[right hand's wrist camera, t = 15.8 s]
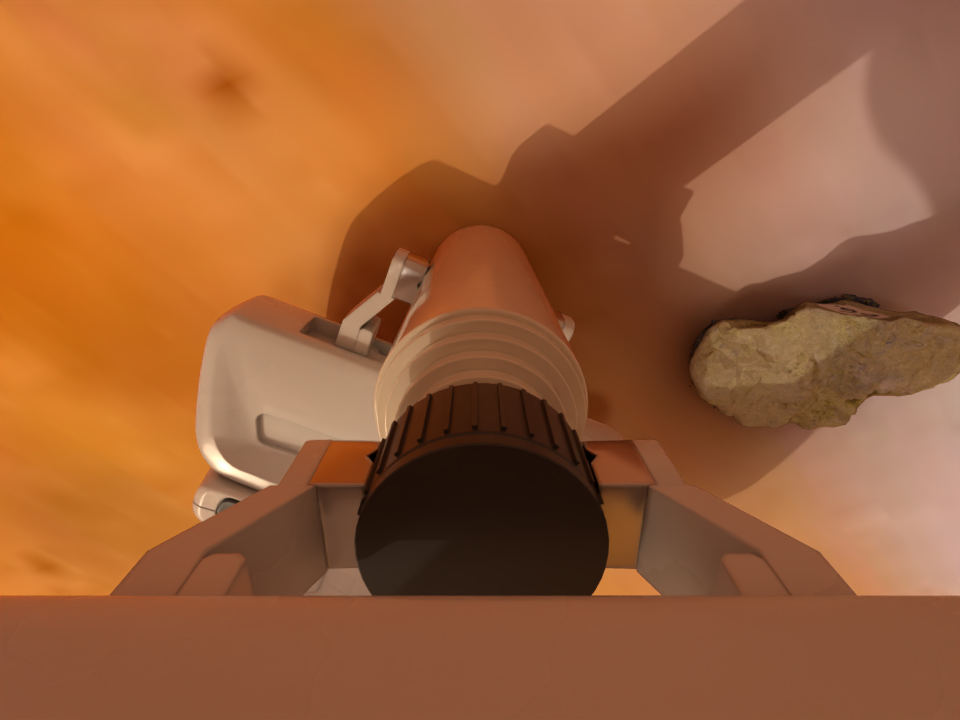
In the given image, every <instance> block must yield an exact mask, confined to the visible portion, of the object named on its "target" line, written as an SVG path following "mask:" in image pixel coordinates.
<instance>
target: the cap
mask: <svg viewBox="0 0 960 720" xmlns="http://www.w3.org/2000/svg"><path fill="white" fill-rule="evenodd" d="M590 467H591V466H590V463H589V460H588V459H586V456H585V453H584V450H583V448H582V445H581V442H580V439H579V437H578V434H577V431H576V430H575V429H574V430H572V429H571V427H570V426H569V424H568V423H567V422H566V419H565V416H564V414H563V413H562V412H561V413H560V414H559V413H558V412H557V411H556V410H555V409H554V408H552V407H551V406H550V405H549V404H548V403H547V400H545V399H544V398H543V399H542V400H541V399H539V398H538V397H536V396H534V395H532V394H530V393H527V392H526V390H525V389H523V388H522V389H521V390H520V389H516V388H513V387H510V386H505V385H502V383H498V384H490V383H478V382H473V384H464V385H458V386H453V385H450V386H449V388H447V389H443V390H440V391H437V392H435V393H433V394H431V393H429V394H427V395H426V397H425V398H423V399H422V400H420V401H419V402H417V403H415V404H414V405H413V406H411V405H409V406H408V407H407V409H406V412H404V414H403V415H402V416H401V417H400V418H399V419H398V420H397V421H395V420H394V421H393V422H392V424H391V427H390V430H389V433H388V435H387V437H386V439H384V438H382V440H381V443H380V446H379V449H378V452H377V455H376V458H375V461H374V463H373V466H372V469H371V472H370V475H369V478H368V481H367V484H366V487H365V489H364V492H363V493H364V494H366V497H365V501H364V504H363V505H362V504H360V506H359V509H358V513H357V515H359V519H358V522H357V525H356V531H355V539H354V544H355V557H356V562H357V566H358V569H359V572H360V575H361V577H362V580H363V582H364V584H365V585H366V587H367V589H368V591H369V592H370V594H371V595H372V596H591V595H592V594H593V593H594V591H595V590H596V588H597V586H598V584H599V582H600V580H601V579H602V576H603V573H604V570H605V568H606V564H607V559H608V554H609V533H608V526H607V521H606V518H605V516H604V513H603V510H602V507H601V505H603V504H604V502H603V499H602V496H601V494H598V493H597V490H596V487H595V485H594V483H595V481H594V478H593V475H592V473H591V470H590Z"/></svg>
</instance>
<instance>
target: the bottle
mask: <svg viewBox="0 0 960 720" xmlns="http://www.w3.org/2000/svg"><path fill="white" fill-rule="evenodd" d="M473 382H478V383H490V384H498V383H502V385H505V386H510V387H513V388H516V389H520V390H521V389H522V388H523V389H525V390H526V392H527V393H530V394H532V395H534V396H536V397H538V398H539V399H541V400H542V399H543V398H544V399H545V400H547V403H548V404H549V405H550V406H551V407H552V408H554V409H555V410H556V411H557V412H558V413H559V414H560V413H561V412H562V413H563V414H564V416H565V419H566V422H567V423H568V424H569V426H570V427H571V429H572V430H574V429H575V430H576V431H577V434H578V437H579V439H580V442H581V439H582V437H583V433H584V428H585V425H586V420H587V415H588V392H587V386H586V382H585V378H584V375H583V372H582V370H581V367H580V365H579V363H578V361H577V359H576V356H575V354H574V352H573V350H572V348H571V346H570V344H569V342H568V340H567V338H566V336H565V334H564V332H563V330H562V328H561V326H560V324H559V322H558V319H557V317H556V315H555V313H554V311H553V309H552V307H551V305H550V303H549V301H548V299H547V297H546V295H545V293H544V291H543V289H542V287H541V285H540V282H539V280H538V278H537V276H536V274H535V272H534V270H533V268H532V266H531V264H530V262H529V260H528V258H527V256H526V254H525V252H524V250H523V248H522V247H521V245H520V244H519V243H518V242H517V241H516V240H515V239H514V238H513V237H512V236H511V235H510V234H508V233H507V232H505V231H503V230H501V229H499V228H496V227H492V226H487V225H473V226H468V227H464V228H462V229H459V230H457V231H455V232H454V233H452V234H451V235H449V236H448V237H447V238H446V239H445V240H444V241H443V242H442V243H441V244H440V246H439V247H438V249H437V250H436V252H435V254H434V256H433V259H432V261H431V263H430V265H429V268H428V270H427V272H426V274H425V276H424V278H423V280H422V282H421V284H420V286H419V288H418V290H417V293H416V295H415V297H414V299H413V301H412V303H411V305H410V307H409V310H408V312H407V314H406V316H405V318H404V320H403V322H402V324H401V327H400V329H399V331H398V333H397V335H396V337H395V339H394V342H393V344H392V346H391V348H390V350H389V352H388V354H387V356H386V359H385V361H384V363H383V365H382V367H381V369H380V372H379V375H378V378H377V381H376V386H375V391H374V415H375V421H376V425H377V429H378V433H379V437H380V440H382V438H384V439H386V437H387V435H388V433H389V430H390V427H391V424H392V422H393V421H394V420H395V421H397V420H398V419H399V418H400V417H401V416H402V415H403V414H404V412H406V409H407V407H408V406H409V405H411V406H413V405H414V404H415V403H417V402H419V401H420V400H422V399H423V398H425V397H426V395H427V394H429V393H431V394H433V393H435V392H437V391H440V390H443V389H447V388H449V386H450V385H453V386H458V385H464V384H473Z"/></svg>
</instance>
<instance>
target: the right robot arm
mask: <svg viewBox="0 0 960 720" xmlns="http://www.w3.org/2000/svg"><path fill="white" fill-rule="evenodd" d="M380 443H381V441H368V440H332V439H328V440H308V441H306V442H305V443H304V444H303V446H302V448H301V449H300V451H299V452H298V454H297V456H296V457H295V459H294V460H293V462H292V464H291V465H290V467H289V468H288V470H287V472H286V473H285V475H284V476H283V478H282V479H281V481H280V483H279V484H278V485H270V486H268V487H266V488H264V489H262V490H260V491H259V492H257V493H255V494H253V495H251V496H249V497H247V498H245V499H244V500H242V501H240V502H238V503H236V504H234V505H232V506H231V507H229V508H227V509H225V510H223V511H221V512H219V513H217V514H216V515H214V516H212V517H210V518H208V519H206V520H204V521H203V522H201V523H199V524H197V525H195V526H193V527H191V528H190V529H188V530H186V531H184V532H182V533H180V534H178V535H176V536H175V537H173V538H171V539H169V540H167V541H165V542H163V543H162V544H160V545H158V546H156V547H154V548H152V549H150V550H149V551H147V552H146V553H145V554H144V556H143V557H142V558H141V559H140V560H139V561H138V563H137V564H136V565H135V566H134V567H133V568H132V570H131V571H130V572H129V573H128V574H127V575H126V577H125V578H124V579H123V580H122V581H121V582H120V584H119V585H118V586H117V587H116V588H115V589H114V591H113V592H112V593H111V594H110V595H109V596H0V720H960V596H857V595H856V594H855V593H854V591H853V590H852V589H851V588H850V587H849V586H848V584H847V583H846V582H845V581H844V580H843V579H842V578H841V576H840V575H839V574H838V573H837V572H836V571H835V569H834V568H833V567H832V566H831V565H830V564H829V562H828V561H827V560H826V559H825V558H824V557H823V556H822V554H821V553H820V552H819V551H817V550H815V549H813V548H811V547H809V546H807V545H805V544H804V543H802V542H800V541H798V540H796V539H794V538H792V537H790V536H789V535H787V534H785V533H783V532H781V531H779V530H777V529H775V528H774V527H772V526H770V525H768V524H766V523H764V522H762V521H760V520H759V519H757V518H755V517H753V516H751V515H749V514H747V513H745V512H744V511H742V510H740V509H738V508H736V507H734V506H732V505H730V504H729V503H727V502H725V501H723V500H721V499H719V498H717V497H715V496H714V495H712V494H710V493H708V492H706V491H704V490H702V489H700V488H699V487H697V486H695V485H686V484H685V482H684V480H683V479H682V477H681V476H680V474H679V473H678V471H677V470H676V468H675V467H674V465H673V464H672V462H671V460H670V459H669V457H668V456H667V454H666V453H665V451H664V450H663V448H662V447H661V445H660V444H659V442H658V441H657V440H655V439H648V440H611V441H581V445H582V448H583V450H584V453H585V456H586V459H588V460H589V463H590V466H591V467H590V470H591V473H592V475H593V478H594V481H595V483H594V485H595V487H596V490H597V493H598V494H601V496H602V499H603V502H604V504H603V505H601V507H602V510H603V513H604V516H605V518H606V521H607V526H608V533H609V554H608V559H607V564H606V568H624V569H637V572H638V573H639V574H640V575H641V576H642V577H643V578H644V579H645V580H647V581H648V582H649V583H650V584H651V585H652V586H653V587H654V588H655V589H656V590H657V591H658V592H659V593H660V594H661V595H662V596H302V595H304V594H305V593H306V592H307V591H308V590H309V589H310V588H311V587H312V586H313V585H314V584H315V583H316V582H317V581H318V580H319V579H320V578H321V577H322V576H323V575H324V574H325V573H326V572H327V569H340V568H358V566H357V562H356V557H355V544H354V539H355V531H356V525H357V522H358V519H359V515H357V513H358V509H359V506H360V504H362V505H363V504H364V501H365V497H366V494H364V493H363V492H364V489H365V487H366V484H367V481H368V478H369V475H370V472H371V469H372V466H373V463H374V461H375V458H376V455H377V452H378V449H379V446H380Z"/></svg>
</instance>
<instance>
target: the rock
mask: <svg viewBox="0 0 960 720" xmlns="http://www.w3.org/2000/svg"><path fill="white" fill-rule="evenodd" d="M834 297H835V296H834ZM842 297H844V298H842V299H840V298H836V297H835V298H833V299H832V298H831V299H827V300H824V301H821V302H818V303H812V302H804V303H802V304H799V305H798V306H797V307H796V308H793V309H791V310H790V309H786V310H783V311H782V312H779V315H777V318H782V319H780V320H776V321H773V322H762V321H755V320H751V319H738V318H737V319H730V320H725V319H724V320H720V321H714V320H712V322H711V325H709V326H708V327H706V328H705V329H704V330H703V331H702V332H701V333H700V334H699V336H698V337H697V339H696V341H695V342H694V344H693V347H692V351H691V354H690V358H689V364H690V366H689V372H690V376H691V379H692V383H693V384H694V385H695V387H696V389H697V393H698V395H699V397H701V398H703V399H704V401H705V402H706V403H708V404H711V405H713V407H714V408H715V407H716V406H717V407H718V409H719V411H720V412H722V414H723V415H726V416H733V418H734V419H735V420H736V422H738V423H739V424H741V425H743V426H746V427H750V428H753V427H759V426H766V427H770V428H778V427H781V426H783V425H785V424H787V423H795V424H797V425H799V426H800V427H802V428H804V429H808V430H809V429H815V428H818V427H838V426H842V425H845V424H846V423H847V422H848V421H849V419H850V417H851V415H854V414H856V411H857V408H858V407H859V405H860V404H861V403H862V402H863V401H864V400H866V399H867V398H869V397H871V396H905V395H911V394H914V393H917V392H919V391H922V390H925V389H930V388H934V387H935V386H936V385H938V384H942V383H946V382H948V381H950V380H952V379H954V378H955V377H956V376H957V375H958V374H959V373H960V325H959V324H957V323H955V322H950V321H948V320H946V319H943V318H938V317H934V316H929V315H924V314H921V313H919V312H916V311H912V312H894V311H887V310H884V309H880V308H878V307H879V304H877V302H874V301H873V300H872V299H865V298H858V297H856V296H855V295H848V294H846V295H842ZM689 387H690V386H689Z"/></svg>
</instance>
